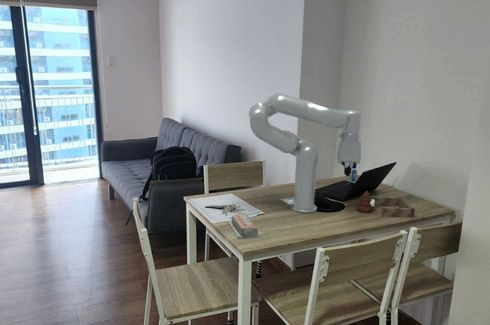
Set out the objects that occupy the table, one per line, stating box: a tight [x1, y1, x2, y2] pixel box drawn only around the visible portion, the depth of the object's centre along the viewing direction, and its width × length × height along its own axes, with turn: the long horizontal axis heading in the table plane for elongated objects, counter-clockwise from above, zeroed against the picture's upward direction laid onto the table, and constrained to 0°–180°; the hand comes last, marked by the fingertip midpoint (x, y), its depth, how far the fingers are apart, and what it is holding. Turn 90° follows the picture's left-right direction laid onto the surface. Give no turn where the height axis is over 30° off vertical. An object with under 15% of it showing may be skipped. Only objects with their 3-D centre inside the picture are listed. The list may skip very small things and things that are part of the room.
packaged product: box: [227, 212, 262, 240], centre depth 169 cm, size 18×5×10 cm
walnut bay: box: [371, 196, 415, 219], centre depth 196 cm, size 14×17×4 cm
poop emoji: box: [355, 190, 376, 214], centre depth 195 cm, size 10×8×9 cm
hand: (347, 175), depth 192 cm, fingers closed
